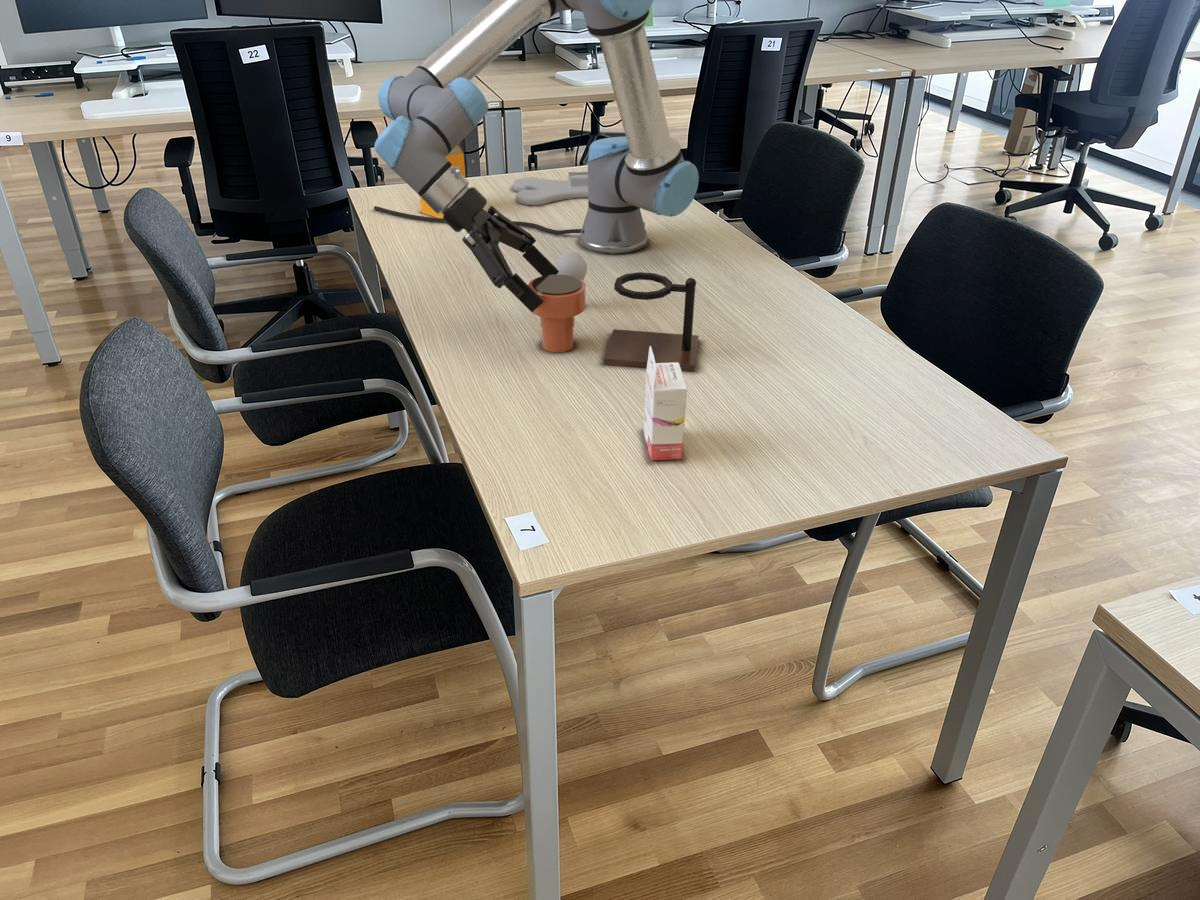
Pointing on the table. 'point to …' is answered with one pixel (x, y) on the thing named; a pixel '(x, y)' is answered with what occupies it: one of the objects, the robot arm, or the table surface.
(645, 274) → the ring stand
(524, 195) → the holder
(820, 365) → the table surface
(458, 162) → the orange juice
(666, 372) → the ink cartridge box
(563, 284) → the terracotta pot
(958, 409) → the table surface
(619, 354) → the ring stand base
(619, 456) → the table surface
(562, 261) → the lightbulb
